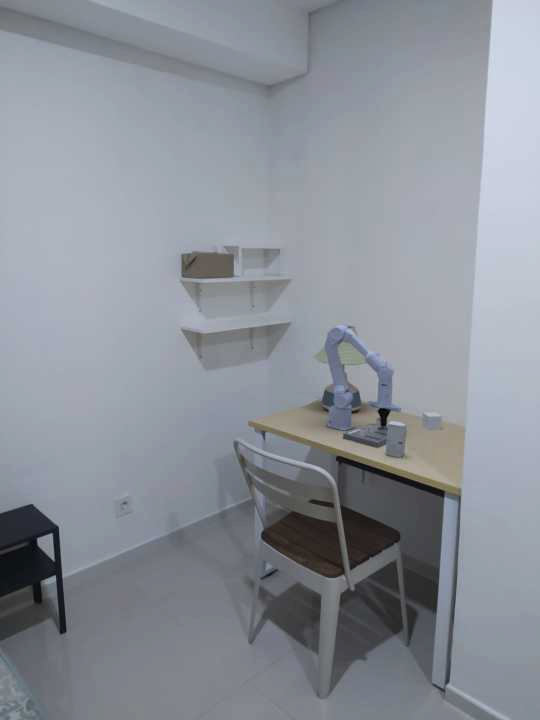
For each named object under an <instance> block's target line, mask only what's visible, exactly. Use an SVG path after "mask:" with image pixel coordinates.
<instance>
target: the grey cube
mask: <svg viewBox="0 0 540 720" xmlns="http://www.w3.org/2000/svg"><path fill="white" fill-rule="evenodd" d="M442 417H443V416H442V415H440V414H439V413H438V412H422V421H421V426H422V427H423V428H424V429H426V430H427V431H434V430H435V431H437V430H438V431H439V430H441V429H442V421H443V418H442Z"/></svg>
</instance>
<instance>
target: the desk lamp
mask: <svg viewBox="0 0 540 720" xmlns="http://www.w3.org/2000/svg"><path fill="white" fill-rule="evenodd" d="M342 324H345V325H347V323H345V322H344V323H342ZM347 326H348V328H349V329H351V330H352V331H353V332H354V333H355V334H356V335H357V337H358V333H357V330H356V327H355V326H352V325H347ZM358 338H359V337H358ZM337 349H338V353H339V357H340V361H341V365H342V369H343V373H344V377H345V381H346V384H347V385H348V387H349V390H350V391H351V393H352V394H353V401H352V402H351V406H352V413H353V412H355V411H357V410H358V409H359V410H360V409H361V407H362V400H361V393H360V390H359V388H358V387H356V386H355V385H354V384H352V383H350V382H349V381H348V374H347V373H346V371H345V366H359V365H365V364H367V363H366V362H365V357H364V355H363V354H361V353H360V352H359V351H358V350H357V349H356V348H355V347H354V346H353V345H352V344H351V343H346V342H343V341H342V342H341V343H340V345H339V346H338V348H337ZM313 358H314V359H315V360H316V361H318V362H319V363H323V364H328V365H329V363H328V359H327V355H326V351H325V345H324V346H323V347H322V349H321V350H319V352H318V353H316V354H315V355H314V357H313ZM322 395H323V396H322V399H321V406H322V407H323V408H324V409H326V410H328V411H329V409H330V407H331V406H333V405H334V383H333V382H332V383H330V384H329V385H326V387H325V388H324V391H323V394H322Z"/></svg>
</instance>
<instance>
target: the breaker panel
mask: <svg viewBox="0 0 540 720" xmlns="http://www.w3.org/2000/svg"><path fill="white" fill-rule="evenodd" d="M407 431H408V430H406V434H407ZM387 432H388V425H386V426H385V427H381V428H378V423H376V422H371V423H368V424H366V425H363V426H360V427H357V428H355V429H352V430H350V431H349V430H348V431H347V432H346V431H345V432H343V434H342V438H343V439H344V440H348V441H352V442H354V443H359V444H363V445H366V446H370V447H373V448H377V449H378V448H380V447H383V446H385V445H386V444H387Z"/></svg>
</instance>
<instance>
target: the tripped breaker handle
mask: <svg viewBox="0 0 540 720" xmlns="http://www.w3.org/2000/svg"><path fill="white" fill-rule="evenodd" d="M375 423H378V428H381V427H383V426H381V418H380V417H379V418H376V421H375Z"/></svg>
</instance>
